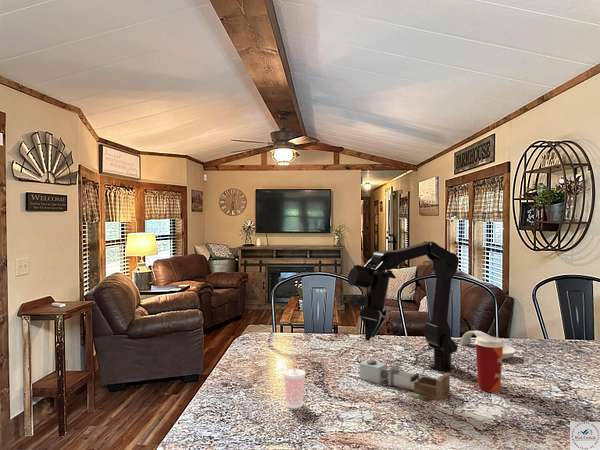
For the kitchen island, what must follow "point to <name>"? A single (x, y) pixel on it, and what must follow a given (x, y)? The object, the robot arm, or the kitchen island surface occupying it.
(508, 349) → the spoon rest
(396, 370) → the metal-capped square post
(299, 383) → the beverage cup
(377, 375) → the block with dome knob
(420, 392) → the housing
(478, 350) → the coffee cup
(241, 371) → the kitchen island surface
